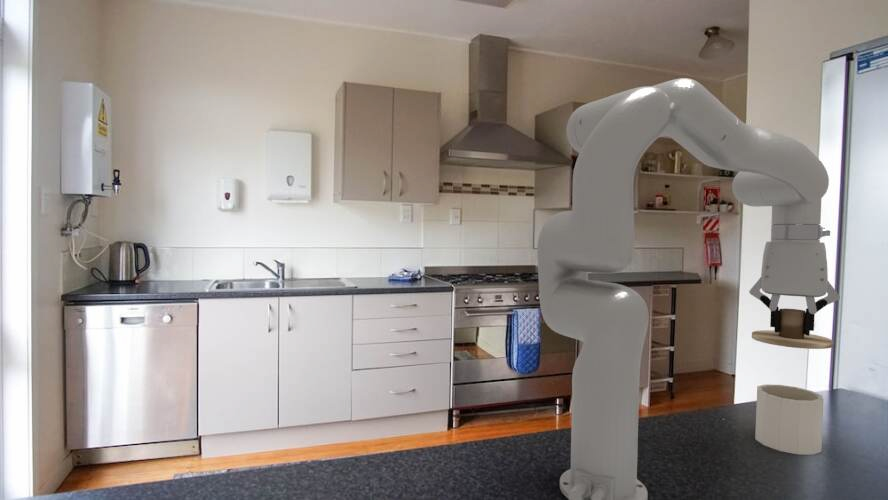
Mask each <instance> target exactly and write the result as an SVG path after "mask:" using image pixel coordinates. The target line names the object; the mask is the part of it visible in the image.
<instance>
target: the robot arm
mask: <svg viewBox="0 0 888 500" xmlns="http://www.w3.org/2000/svg"><path fill="white" fill-rule="evenodd" d="M663 137H669V138H670V139H672V140H674V141H675V143H677V144H678V145H680V146H681V147H682V148H683V149H684V150H686V151H687V152H689V153H690V154H691V155H692V156H693V157H695V158H696V160H698V161H699V162H700V163H701V164H703V165H705V166H708V167H711V168H713V169H714V168H716V169H719V170H720V169H721V170H724V171H725V170H726V171H730V172H731V171H732V172H738V173H737V174H736V175H735V176H734V178H733V181H732V184H731V189H732V190H731V191H732V193H733V195H734V197H735V199H736V200H737V201H738V202H739V203H741V204H743V205H745V206H749V207H758V208H759V207H771V222H770V223H771V226H770V227H771V229H770V241H766V242H765V245H764V250H763V254H762V263H761V271H760V272H761V273H760V274H761V275H760V277H759V279H758V280H757V281H756V282H755V283H754V284H753V286H752V287H751V288H750V289H749V291H748V292H749V294H750V295H751V296H753V297H755V299H758V300H759V301H761V303H763V305H765V306H766V307H767V308H768V309H769V310H770V326H769V327H770V328H774V330H775V332H776V333H778V332H779V322H780V312H779V309H780V308H779V306H778V304H779V303H780V302H779V301H780V298H781V296H789V297H802V298H805V300H806V306H807V308H806V309H805V326H804V335H806V336H809V334H810V331H811V332H814V331H815V315H816V314H817V312H819V311H821V310H822V309H823V308H824V307H826V306H827V305H830V304H832V303H835V302H837V301H839V300H840V299H841V295H839V293H838V292H837V290H835V288H834V286H833V285H832V284H831V283H830V281H829V280H828V277H829V275H828V271H829V270H828V259H827V258H828V257H827V248H826V244H825V242H821V238H823V237H830V236H831V228H825V227H823V226H822V225H821V224H822V223H821V221H822V219H821V218H822V215H821V214H822V198H824V196H825V195H826V194H827V192H828V190H829V189H828V188H829V185H830V179H829V175H828V171H827V169H826V167H825V165H824V164H823V162H822V161H821V160H820V159H819V157H818V156H816V154H815V153H814V152H813V151H811V149H809V147H807V146H806V145H805V144H803V143H802V142H800V141H799V140H798V139H795V138H792V137H790V136H787V135H784V134H781V133H779V132H775V131H771V130H768V129H765V128H761V127H760V126H759V127H758V126H756V125H750V124H747V123H745V122H743V121H742V120H741V119H739V118H738V117H737V116H736V115H735V114H734V113H733V112H732V111H731V110H730V109H729V108H728V107H727V106H725V105H724V104H723V103H722V102H721V101H720V100H719V98H717V97H716V96H715V95H714V94H712V93H711V92H710V91H709V90H708V89H707V88H706V87H705V86H704V85H702V84H701V83H700V82H698V81H697V80H695V79H693V78H688V77H680V78H675V79H672V80H671V79H670V80H667V81H663V82H661V83H658V84H654V85H652V86H651V85H649V86H648V85H647V86H639V87H635V88H630V89H628V90H624V91H621V92H617V93H614V94H612V95H610V96H609V95H608V96H606V97H604V98H600V99H597V100H595V101H591V102H587V103H585V104H582V105H580V106H579V107H577V108H576V109H575V110H574V111H573V112H572V113H571V115H570V117H569V119H568V121H567V124H566V138H567V141H568V143H569V144H570V146H571V147H572V149H573V150H574V151H576V152H577V153H578V156H577V158H576V161H575V165H574V168H573V174H572V194H571V195H572V198H571V199H572V206H571V207H572V208H571V209H572V210H563V211H560V212H557V213H555V214H552V215H551V216H550V217H549V218H547V220H546V221H545V222H544V224H543V225H542V227H541V230H540V232H539V235H538V239H537V247H536V249H537V252H536V253H537V270H538V271H537V276H538V290H539V291H538V293H539V294H538V295H539V304H540V305H539V306H540V311H541V316H542V318H543V321H544V322H545V324H546V325H547V327H548V328H550V330H552V331H553V332H554V333H556V334H559V335H561V336H564V337H568V338H571V339H574V340H578V341H581V342H583V344H582V348H581V350H580V352H579V354H578V356H577V358H576V359H575V361H574V366H573V369H572V378H571V384H572V385H571V423H570V424H571V430H570V431H571V433H570V468H569V469H567V470H566V471H564V472H563V473H562V474H561V475H560V478H559V489H560V491H561V493H562V494H563V495H564V496H565V498H567V500H648V497H649V496H648V495H649V494H648V493H649V492H648V489H647V488H646V486H645V485H644V483H642V481H640V480H639V479H638V476H637V475H638V449H639V448H638V447H639V445H638V443H639V442H638V441H639V440H638V439H639V438H638V437H639V409H640V408H639V406H640V403H639V402H640V370H641V361H642V353H643V349H644V345H645V339H646V335H647V332H648V327H649V320H650V319H649V317H650V316H649V315H650V314H649V309H648V306H647V303H646V301H645V300H644V298H643V297H642V296H641V295H640V294H639V293H638V292H637V291H636V290H635V289H633V288H631V287H628V286H626V285H623V284H619V283H615V282H608V281H603V280H601V281H600V280H590V279H589V274H590V273H592V274H604V275H605V274H616V273H620V272H623V271H624V270H626V269H628V267H630V265H631V263H632V261H633V259H634V254H635V248H636V247H635V244H636V243H635V233H636V232H635V213H634V212H635V211H634V210H635V207H634V178H635V173H636V169H637V166H638V164H639V163H640V160H641V158H642V156H644V154H645V152H646V151H647V150H648V149H649V147H651V145H652V144H653V143H654V142H656V140H657V139H659V138H663ZM760 290H762V292H763V293H762V292H761V291H760ZM764 293H765V294H764ZM767 294H769V295H771V297H770V298H769V296H767ZM825 295H826V296H825ZM823 296H824V297H823ZM819 297H821V298H819ZM815 298H819V299H818V300H815Z"/></svg>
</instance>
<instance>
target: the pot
mask: <svg viewBox="0 0 888 500" xmlns="http://www.w3.org/2000/svg"><path fill="white" fill-rule="evenodd" d="M823 397H824V396H823V395H821V394H819V393H818V392H814V391H812V390H810V389H809V390H808V389H805V388H801V387H797V386H791V385H784V384H761V385H758V386H757V387H756V406H755V407H756V411H755V435H754V438H755V440H756V441H757V442H759V443H760V444H761V445H762V446H765V447H767V448H771V449H772V450H776V451H778V452H784V453H789V454H794V455H806V456H807V455H809V456H813V455H816V454H820V453H822V447H823V446H822V444H823V420H824V398H823Z"/></svg>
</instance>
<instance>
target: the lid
mask: <svg viewBox="0 0 888 500" xmlns="http://www.w3.org/2000/svg"><path fill="white" fill-rule="evenodd" d="M779 312H780V322H779V332H778V333H776V332H775V329H772V330H770V329H769V330H768V329H767V330H755V331H752V332H751V338H752V340H755V341H757V342H760V343H763V344H768V345H773V346H778V347H779V346H780V347H786V348H794V349H795V348H796V349H807V350H808V349H809V350H824V349H826V350H827V349H831V348H834V345H835V343H834V342H835V341H834V340H833V339H831V338H828V337H825V336H821V335H816V334H813V333H812V334H811V333H809V336H806V335H804V326H805V313H806V310H803V309H796V308H779Z"/></svg>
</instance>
